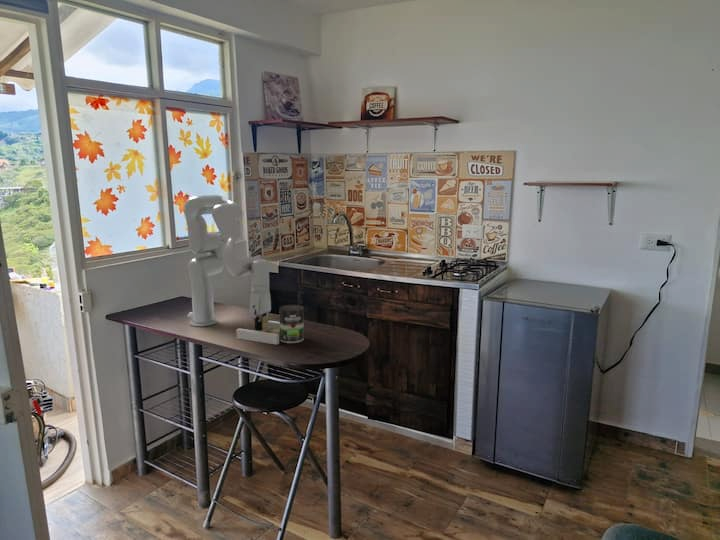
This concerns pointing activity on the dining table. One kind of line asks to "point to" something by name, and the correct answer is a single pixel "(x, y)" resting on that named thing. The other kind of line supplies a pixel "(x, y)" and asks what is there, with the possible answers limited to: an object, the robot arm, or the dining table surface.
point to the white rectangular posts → (260, 334)
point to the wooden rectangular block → (266, 327)
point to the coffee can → (291, 323)
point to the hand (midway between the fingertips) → (261, 328)
